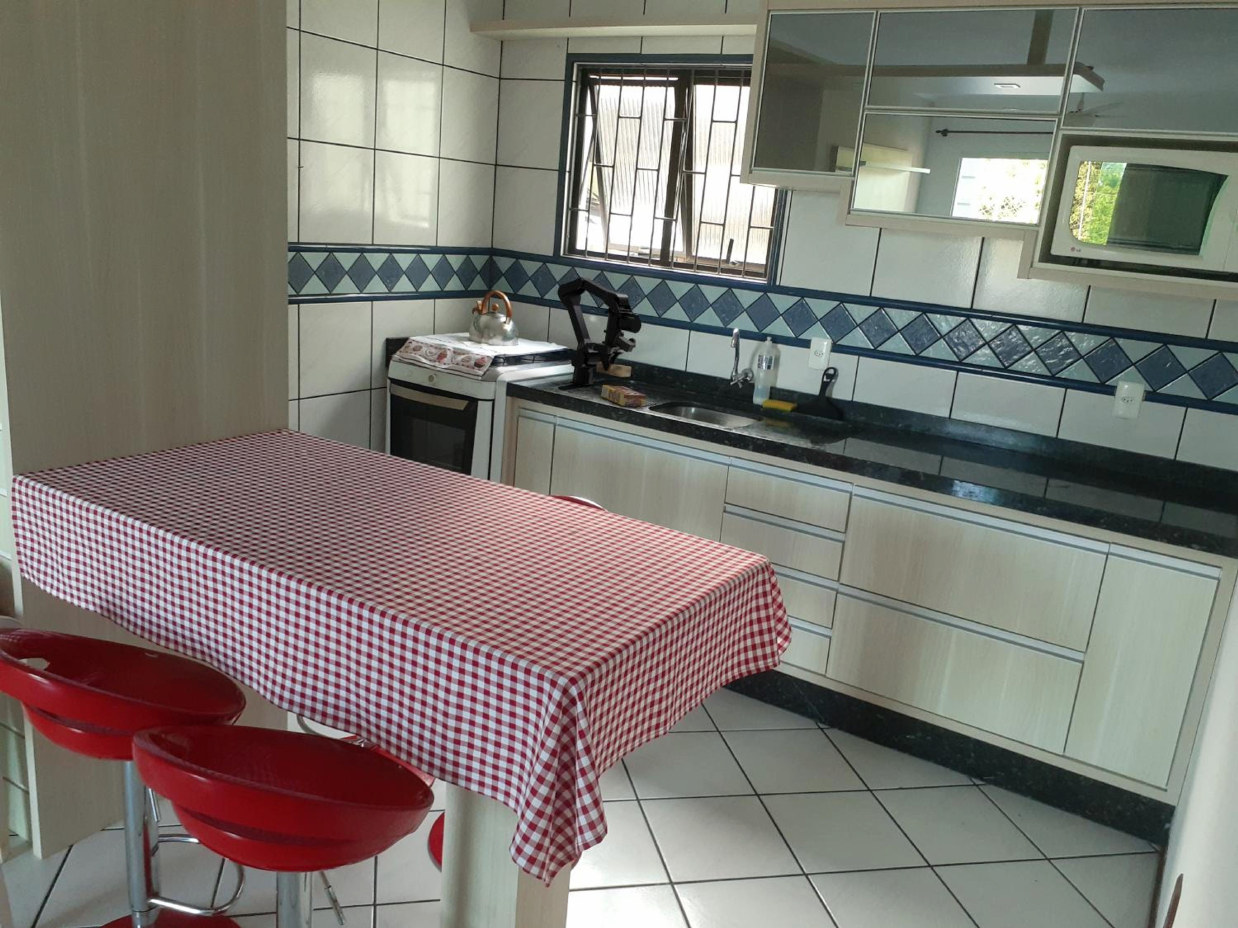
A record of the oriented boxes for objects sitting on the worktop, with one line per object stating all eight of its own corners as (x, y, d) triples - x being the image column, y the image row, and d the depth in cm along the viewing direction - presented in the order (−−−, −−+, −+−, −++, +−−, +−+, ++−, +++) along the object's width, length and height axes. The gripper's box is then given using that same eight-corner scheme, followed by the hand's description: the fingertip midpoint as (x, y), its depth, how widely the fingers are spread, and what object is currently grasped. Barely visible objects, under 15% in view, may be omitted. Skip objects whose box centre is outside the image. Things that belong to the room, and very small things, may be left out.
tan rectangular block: (594, 371, 352) (595, 362, 351) (603, 371, 357) (604, 361, 356) (621, 377, 346) (622, 367, 345) (630, 376, 351) (631, 367, 350)
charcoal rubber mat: (608, 400, 334) (608, 399, 334) (626, 397, 347) (626, 396, 347) (639, 407, 329) (639, 406, 329) (656, 404, 342) (656, 403, 342)
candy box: (600, 397, 338) (621, 405, 325) (602, 385, 337) (623, 393, 324) (622, 398, 343) (644, 406, 330) (623, 386, 342) (645, 394, 329)
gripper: (622, 333, 337) (615, 376, 340) (645, 331, 353) (638, 373, 357) (594, 327, 341) (588, 370, 345) (618, 326, 358) (612, 367, 361)
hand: (607, 370), depth 352 cm, fingers closed on tan rectangular block, 3 cm apart
